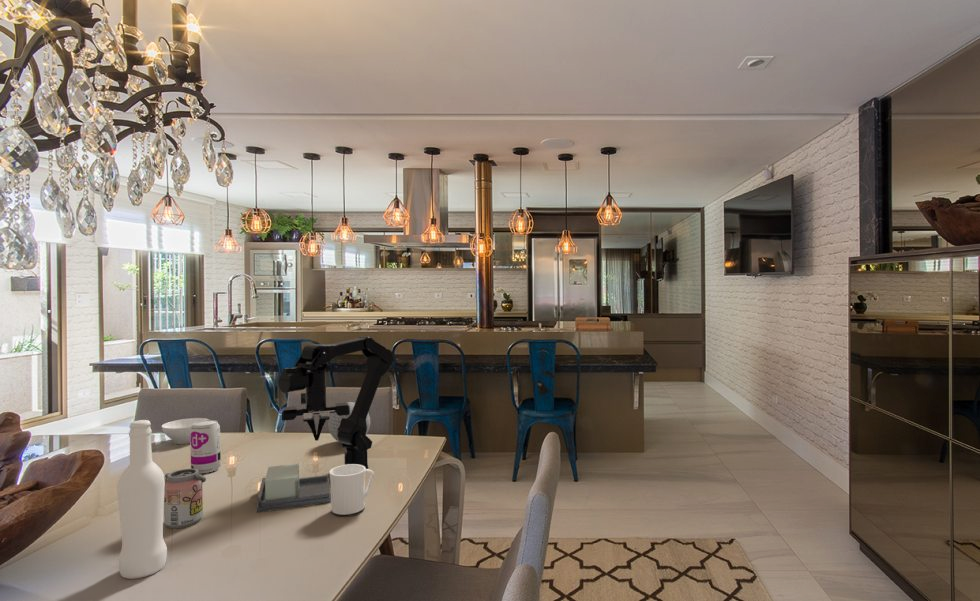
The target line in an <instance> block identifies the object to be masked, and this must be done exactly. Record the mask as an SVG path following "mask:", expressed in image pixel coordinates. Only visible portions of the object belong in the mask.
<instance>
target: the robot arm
mask: <svg viewBox="0 0 980 601" xmlns="http://www.w3.org/2000/svg"><path fill="white" fill-rule="evenodd" d="M357 352H361V354H362V355H363V356H364V357H365V358H366V360H365V367H366V374H365V377H364V379H363V382H362V385H361V387H360V390H359V392H358V395H357V397H356V400H355V402H354V403H355V405H354V408H353V410H352V413H351V415H350V407H349V404H348V403H347V401H345V402H335V403H334V406H333V405H332V406H327V376H326V375H327V374H326V373H327V372H329V371H332V370H333V368H332V367H331V365H329V364H328V363H329V362H332V360H334V359H335V358H337V357H340V356H344V355H349V354H353V353H357ZM394 359H395V356H394V353H393V351H392V350H390V349H387V348H386V347H385V346H384V345H382V344H380V343H379V342H377V341H376V340H374V339H373V337H370V336H359V337H356V338H351V339H349V340H348V339H347V340H343V341H338V342H334V343H328V344H327V343H326V344H324V343H323V344H321V343H319V344H317V343H316V344H315V343H313V344H311V343H310V344H307V345H305V346H304V347H303V348H302V350H301V353H300V356H299V357H298V359H297V361H296V362H295V364H294V366H293V367H283V368H282V372H281V373H280V375H279V377H278V379H277V380H278V381H277V383H278V387H279V390H280V391H281V392H282V393H283V394H286V393H292V392H297V391H304V390H305V392H301V393H300V404H301V405H305V408H298V409H297V406H284V407H283V408H282V410H281V421H282V422H283V421H293V420H295V419H296V418H297V417H298V416H299V417H302V418H303V419H302V421H303V423H304V422H306V423H307V425H308V426H309V428H310V429H311V432H312V435H313V438H314V440H315V442H317V441H319V439H320V437H321V434H322V430H323V427H324V426H325V423H326V421H327V420H328V421H329V419H330V415H331V413H336V414H337V415H339V416H342V415H350V416H349V417H348V418H347V419H346V418H342V420H341V423H340V426H339V428H338V429H337V430H338V434H337V437H338V439H339V441H340V442H339V441H338V442H339V443H340V444H341V446H342V447H341V448H345V451H346V452H344V456H343V457H344V459H343V461H344V465H347V464H358V465H363V466H365V468H366V469H369V465H368V464H369V463H368V450H369V449H371V448H372V446H373V441H372V439H370V438H369V437H368V436H367V434H366V431H367V424H366V417H367V415H368V413H369V411H370V409H371V407H372V404H373V401H374V398H375V395H376V393H377V391H378V388H379V384H380V382H381V379H382V377H383V376H384V375H386V373H387V372H388V371H389V370H390V369H391V367H392V365H393V363H394ZM315 415H318V419H317V420H318V421H317V426H316V422H315ZM316 427H317V428H316Z"/></svg>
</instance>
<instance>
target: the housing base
mask: <svg viewBox="0 0 980 601" xmlns="http://www.w3.org/2000/svg"><path fill="white" fill-rule="evenodd" d="M265 480H266V477H262V478H261V483H260V487H259V491H258V494H257V503H256V513H263V511H264V512H269V510H271V511H277V510H276V509H278V510H283V509H285V510H286V509H290V508H291V509H292V508H298V507H306V506H311V505H319V504H327V503H332V502H331V485H330V477H328V474H326V475H325V474H323V475H318V476H317V475H315V476H308V477H301V478H300V477H299V496H295V497H288V498H280V499H273V500H265Z"/></svg>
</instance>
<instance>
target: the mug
mask: <svg viewBox="0 0 980 601" xmlns="http://www.w3.org/2000/svg"><path fill="white" fill-rule="evenodd" d="M367 472H368V473H370V477H369V480H368V484H367V486H366V473H367ZM328 473H329V483H330V495H331V502H330V503H331V512H332V514H333V515H334V516H336V517H341V518H342V517H344V518H345V517H353V516H356V515H359V514H361V513H362V512H364V510H365V507H366V506H365V505H366V504H365V503H366V499H365V498H366V497H367V496H368V495H369V492H370V489H371V487H372V483H373V480H374V477H375V473H374V471H373V470H372V469H369V468H368V469H366V468H365V466H363V465H358V464H347V465H345V464H341V465H337V466H335V467H332V468H331V469H329V472H328Z"/></svg>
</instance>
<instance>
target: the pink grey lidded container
mask: <svg viewBox="0 0 980 601" xmlns="http://www.w3.org/2000/svg"><path fill="white" fill-rule="evenodd" d="M164 478H165V480H166V482H165V488H164V510H163V524H164V525H165V526H166V527H167V528H170V529H182V528H186V527H187V528H188V527H190V526H193V525H195V524H197V523H198V522H200V520H202V518H203V515H204V505H203V504H204V502H203V498H204V497H203V496H204V494H203V483H205V482H206V481H207V479H206V478H207V477H206V476H205V475H204V476H203V474H200V473H199V471H198V470H197V469H191V468H184V469H183V468H182V469H178V470H173V471H171V472H166V473H165V474H164Z"/></svg>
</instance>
